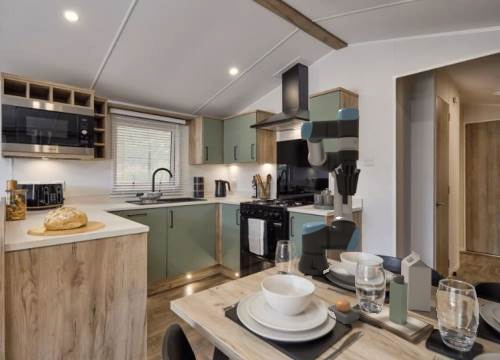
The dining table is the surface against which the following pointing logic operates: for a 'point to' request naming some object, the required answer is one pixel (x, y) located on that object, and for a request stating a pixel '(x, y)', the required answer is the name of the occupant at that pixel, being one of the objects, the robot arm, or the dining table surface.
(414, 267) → the milk carton
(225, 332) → the dining table surface
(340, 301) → the button
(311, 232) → the robot arm
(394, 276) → the green tall block
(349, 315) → the button base
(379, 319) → the wooden tray
